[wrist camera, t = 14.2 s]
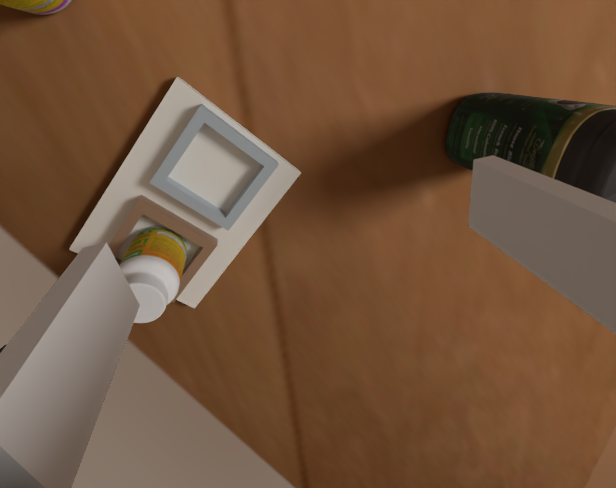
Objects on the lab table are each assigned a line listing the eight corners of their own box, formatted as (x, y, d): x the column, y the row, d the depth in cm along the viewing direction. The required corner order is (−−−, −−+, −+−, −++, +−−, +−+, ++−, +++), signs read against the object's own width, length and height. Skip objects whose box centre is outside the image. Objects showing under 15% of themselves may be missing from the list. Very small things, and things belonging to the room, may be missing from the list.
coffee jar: (435, 164, 40) (578, 232, 23) (453, 89, 36) (635, 107, 20) (507, 166, 42) (685, 230, 25) (531, 95, 38) (754, 116, 22)
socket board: (73, 244, 35) (62, 256, 33) (178, 76, 31) (174, 77, 28) (195, 302, 41) (193, 316, 39) (299, 169, 37) (303, 177, 34)
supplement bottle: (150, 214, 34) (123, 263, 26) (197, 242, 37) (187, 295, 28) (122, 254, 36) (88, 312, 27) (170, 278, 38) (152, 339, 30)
